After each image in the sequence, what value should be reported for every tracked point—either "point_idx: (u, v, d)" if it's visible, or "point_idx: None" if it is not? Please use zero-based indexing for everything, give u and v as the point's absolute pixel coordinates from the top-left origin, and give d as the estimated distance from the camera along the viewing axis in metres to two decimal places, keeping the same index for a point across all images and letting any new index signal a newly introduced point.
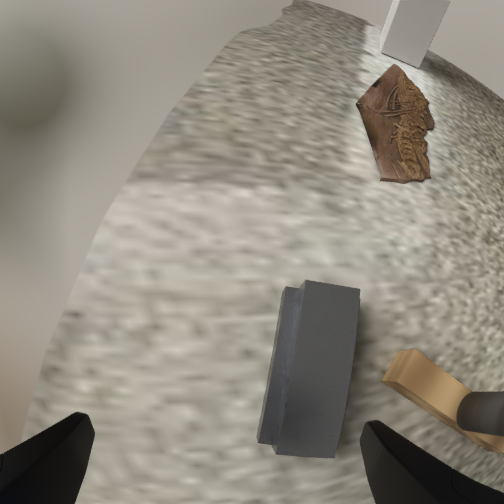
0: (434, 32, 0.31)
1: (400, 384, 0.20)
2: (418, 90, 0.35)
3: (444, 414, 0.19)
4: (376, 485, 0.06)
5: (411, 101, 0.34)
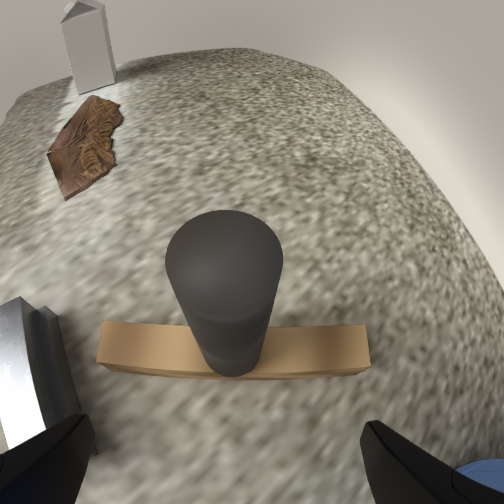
0: (105, 44, 0.37)
1: (103, 363, 0.18)
2: (108, 102, 0.39)
3: (187, 371, 0.18)
4: (376, 485, 0.06)
5: (99, 116, 0.37)
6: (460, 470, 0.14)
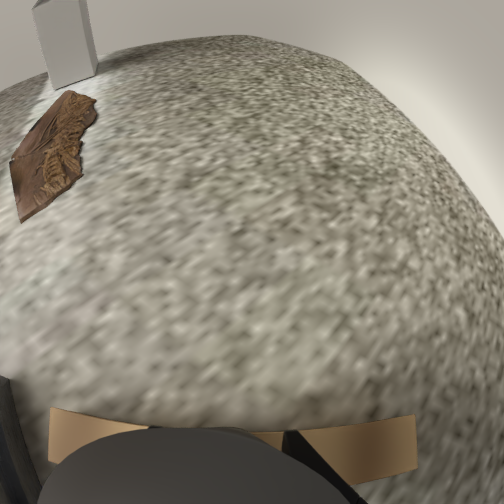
0: (82, 31, 0.29)
1: (57, 463, 0.10)
2: (83, 97, 0.31)
3: None
4: None
5: (71, 114, 0.29)
6: None
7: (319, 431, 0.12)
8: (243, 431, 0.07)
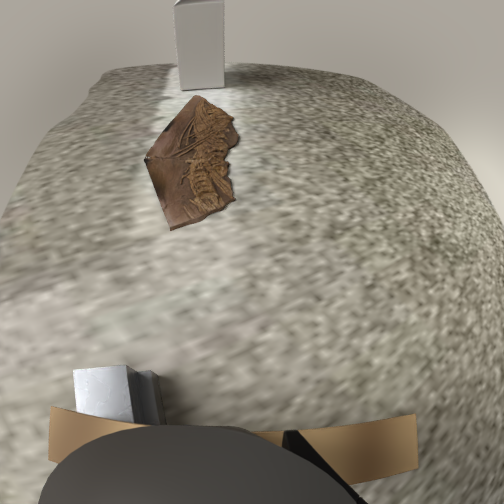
0: (222, 42, 0.37)
1: (58, 462, 0.10)
2: (219, 110, 0.39)
3: None
4: None
5: (209, 126, 0.37)
6: None
7: (320, 430, 0.12)
8: (244, 430, 0.07)
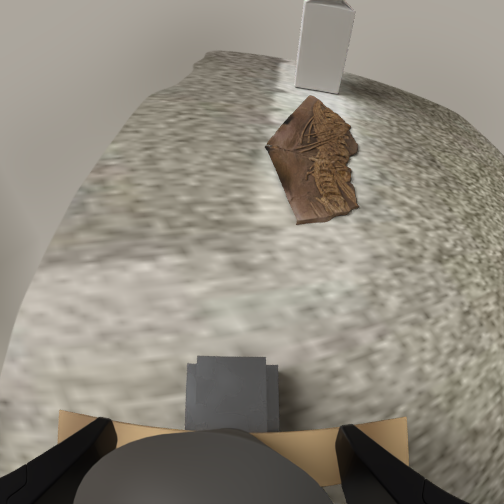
0: (346, 50, 0.36)
1: None
2: (337, 116, 0.38)
3: None
4: (349, 491, 0.06)
5: (329, 129, 0.37)
6: None
7: (314, 432, 0.12)
8: (243, 432, 0.08)
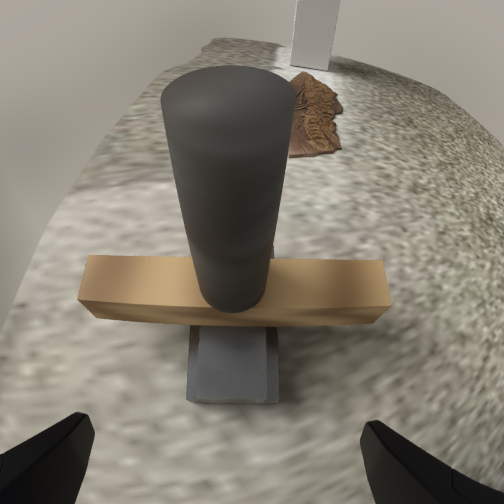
0: (333, 32, 0.41)
1: (85, 301, 0.16)
2: (325, 86, 0.43)
3: (180, 307, 0.16)
4: (376, 485, 0.06)
5: (318, 95, 0.42)
6: None
7: (303, 260, 0.18)
8: None
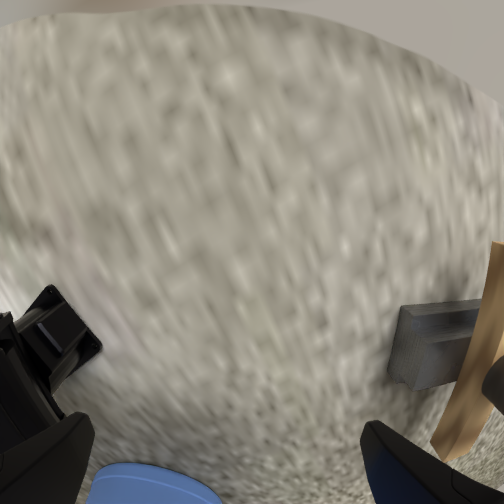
0: None
1: None
2: None
3: (497, 343, 0.15)
4: (376, 485, 0.06)
5: None
6: None
7: (490, 412, 0.16)
8: None
